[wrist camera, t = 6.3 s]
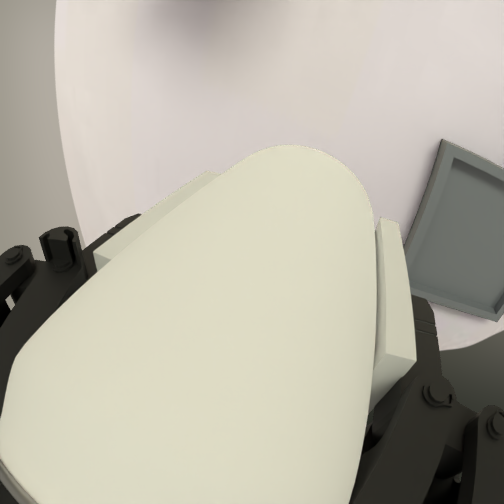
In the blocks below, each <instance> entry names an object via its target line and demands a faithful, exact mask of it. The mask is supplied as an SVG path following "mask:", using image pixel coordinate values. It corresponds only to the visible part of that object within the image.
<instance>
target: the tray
mask: <svg viewBox="0 0 504 504" xmlns="http://www.w3.org/2000/svg"><path fill="white" fill-rule="evenodd" d="M403 249H404V255H405V260H406V266H407V272H408V279H409V286H410V293H411V294H412V295H415V296H418V297H421V298H425V299H426V300H427V301H430V302H433V303H436V304H440V305H443V306H446V307H449V308H453V309H456V310H459V311H463V312H466V313H469V314H472V315H476V316H479V317H482V318H485V319H489V320H492V321H495V322H498V320H499V319H500V318H501V316H502V315H503V313H504V168H502V167H500V166H498V165H496V164H494V163H493V162H491V161H489V160H487V159H485V158H483V157H481V156H479V155H477V154H475V153H473V152H470V151H468V150H466V149H464V148H462V147H460V146H457V145H455V144H453V143H451V142H448V141H446V140H444V139H442V140H441V144H440V147H439V151H438V154H437V157H436V161H435V164H434V167H433V170H432V173H431V176H430V179H429V182H428V185H427V188H426V191H425V194H424V197H423V199H422V202H421V205H420V208H419V210H418V213H417V215H416V218H415V220H414V223H413V226H412V228H411V230H410V233H409V235H408V238H407V240H406V242H405V245H404V247H403Z"/></svg>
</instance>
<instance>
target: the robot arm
mask: <svg viewBox="0 0 504 504" xmlns="http://www.w3.org/2000/svg"><path fill="white" fill-rule="evenodd" d="M220 175H221V174H219V173H215V172H210V171H206V172H204V173H203V174H201V175H199V176H198V177H196V178H195V179H193V180H192V181H190V182H189V183H187V184H186V185H184V186H183V187H181V188H180V189H178V190H177V191H175V192H174V193H172V194H171V195H169V196H168V197H166V198H165V199H163V200H162V201H161V202H159V203H158V204H156V205H155V206H153V207H152V208H151V209H149V210H148V211H146V212H145V213H144V214H136V215H133V216H131V217H128V218H125V219H124V220H123V221H121V222H120V223H118V224H117V225H116V226H115V227H113V228H111V229H110V230H109V231H107V233H105V234H103V235H102V236H101V237H99V238H98V239H97V240H95V241H94V242H93V243H91V244H90V245H89V246H88V247H86V248H85V249H84V250H82V249H81V245H80V240H79V236H78V232H77V231H76V230H75V229H74V228H71V227H58V228H54V229H51V230H49V231H47V232H45V233H44V234H43V235H41V236H40V237H39V240H40V243H41V246H42V250H43V253H44V256H45V259H46V261H40V260H34V258H33V255H32V252H31V249H30V248H29V247H28V246H24V245H19V246H14V247H12V248H10V249H8V250H7V251H5V252H4V253H3V254H2V255H1V256H0V418H1V414H2V409H3V405H4V399H5V394H6V389H7V384H8V380H9V375H10V372H11V368H12V365H13V362H14V360H15V357H16V356H17V354H18V353H19V352H20V350H21V349H22V347H23V346H24V345H25V343H26V342H27V341H28V340H29V339H30V338H31V337H32V336H33V335H34V333H35V332H36V331H37V330H38V329H39V328H40V327H41V326H42V325H43V324H44V323H45V321H46V320H47V319H48V318H49V317H50V316H51V315H52V314H53V313H54V312H55V311H56V310H57V309H58V308H59V307H61V306H62V305H63V304H64V303H65V302H66V301H67V300H68V299H69V298H70V297H71V296H72V295H73V294H74V293H75V292H76V291H77V290H78V289H79V288H80V287H81V286H83V285H84V284H85V283H86V282H87V281H88V280H89V279H90V278H91V277H92V276H94V275H95V274H96V273H97V272H98V271H99V270H100V269H101V268H103V267H104V266H105V265H106V264H107V263H108V262H109V261H111V260H112V259H113V258H114V257H115V256H116V255H118V254H119V253H120V252H121V251H122V250H123V249H125V248H126V247H127V246H128V245H129V244H131V243H132V242H133V241H134V240H135V239H137V238H138V237H139V236H140V235H141V234H143V233H144V232H145V231H146V230H148V229H149V228H150V227H151V226H153V225H154V224H155V223H156V222H158V221H159V220H160V219H162V218H163V217H164V216H165V215H167V214H168V213H169V212H171V211H172V210H173V209H174V208H176V207H177V206H178V205H180V204H181V203H182V202H184V201H185V200H186V199H188V198H189V197H190V196H192V195H193V194H195V193H196V192H197V191H199V190H200V189H201V188H203V187H204V186H206V185H207V184H208V183H210V182H211V181H212V180H214V179H215V178H217V177H218V176H220ZM375 245H376V278H377V301H376V333H375V350H374V364H373V375H372V385H371V394H370V402H369V409H368V414H369V412H370V411H371V410H373V408H374V416H373V421H372V422H371V423H370V424H369V425H368V426H367V427H366V429H365V435H364V441H363V446H362V451H361V456H360V461H359V466H358V470H357V475H356V479H355V483H354V487H353V490H352V494H351V497H350V501H349V504H504V411H503V410H502V409H501V408H499V407H497V406H495V405H488V406H487V407H485V408H484V409H482V410H481V411H480V412H479V413H476V412H474V411H472V410H470V409H469V408H467V407H465V406H463V405H461V404H460V403H458V402H457V401H456V395H455V392H454V388H453V387H452V385H451V384H450V383H449V381H448V380H447V379H445V378H444V377H443V376H442V371H441V361H440V353H439V345H438V337H436V336H437V331H436V327H435V318H434V313H433V310H432V308H431V307H430V305H429V303H428V302H427V300H426V299H425V298H421V297H418V296H415V295H412V294H411V293H410V286H409V279H408V272H407V266H406V260H405V255H404V249H403V244H402V239H401V234H400V229H399V225H398V223H397V222H394V221H391V220H388V219H385V218H382V217H380V219H379V222H378V225H377V228H376V230H375ZM9 295H11V297H12V299H13V301H14V303H15V306H14V307H13V309H12V310H10V308H9V307H8V305H7V303H6V301H5V299H6V298H7V297H8V296H9ZM461 472H462V477H461V482H460V480H459V474H460V473H461ZM0 504H19V503H18V502H17V501H16V500H15V499H14V497H13V496H12V495H11V494H10V493H9V491H8V490H7V489H6V488H5V486H4V485H3V484H2V482H1V481H0Z"/></svg>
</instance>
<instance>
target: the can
mask: <svg viewBox="0 0 504 504" xmlns="http://www.w3.org/2000/svg"><path fill="white" fill-rule="evenodd" d="M376 301H377V278H376V245H375V229H374V219H373V212H372V208H371V204H370V201H369V198H368V196H367V193H366V191H365V189H364V188H363V186H362V184H361V183H360V181H359V180H358V179H357V177H356V176H355V175H354V174H353V173H352V172H351V171H350V170H349V169H348V168H347V167H346V166H345V165H344V164H343V163H341V162H340V161H338V160H337V159H336V158H334V157H332V156H330V155H329V154H326V153H324V152H322V151H320V150H317V149H314V148H310V147H306V146H299V145H280V146H273V147H269V148H266V149H263V150H260V151H258V152H256V153H254V154H252V155H250V156H248V157H247V158H245V159H243V160H242V161H240V162H239V163H237V164H236V165H234V166H233V167H231V168H230V169H228V170H227V171H225V172H224V173H223V174H221V175H220V176H218V177H217V178H215V179H214V180H212V181H211V182H210V183H208V184H207V185H206V186H204V187H203V188H201V189H200V190H199V191H197V192H196V193H195V194H193V195H192V196H190V197H189V198H188V199H186V200H185V201H184V202H182V203H181V204H180V205H178V206H177V207H176V208H174V209H173V210H172V211H171V212H169V213H168V214H167V215H165V216H164V217H163V218H162V219H160V220H159V221H158V222H156V223H155V224H154V225H153V226H151V227H150V228H149V229H148V230H146V231H145V232H144V233H143V234H141V235H140V236H139V237H138V238H137V239H135V240H134V241H133V242H132V243H131V244H129V245H128V246H127V247H126V248H125V249H123V250H122V251H121V252H120V253H119V254H118V255H116V256H115V257H114V258H113V259H112V260H111V261H109V262H108V263H107V264H106V265H105V266H104V267H103V268H101V269H100V270H99V271H98V272H97V273H96V274H95V275H94V276H92V277H91V278H90V279H89V280H88V281H87V282H86V283H85V284H84V285H83V286H81V287H80V288H79V289H78V290H77V291H76V292H75V293H74V294H73V295H72V296H71V297H70V298H69V299H68V300H67V301H66V302H65V303H64V304H63V305H62V306H61V307H59V308H58V309H57V310H56V311H55V312H54V313H53V314H52V315H51V316H50V317H49V318H48V319H47V320H46V321H45V323H44V324H43V325H42V326H41V327H40V328H39V329H38V330H37V331H36V332H35V333H34V335H33V336H32V337H31V338H30V339H29V340H28V341H27V342H26V343H25V345H24V346H23V347H22V349H21V350H20V352H19V353H18V354H17V356H16V357H15V360H14V362H13V365H12V368H11V372H10V375H9V380H8V384H7V389H6V394H5V399H4V405H3V409H2V414H1V418H0V481H1V482H2V484H3V485H4V486H5V488H6V489H7V490H8V491H9V493H10V494H11V495H12V496H13V497H14V499H15V500H16V501H17V502H18V503H19V504H349V501H350V497H351V494H352V490H353V487H354V483H355V479H356V475H357V470H358V466H359V461H360V456H361V451H362V446H363V441H364V435H365V429H366V423H367V416H368V409H369V402H370V394H371V385H372V375H373V364H374V350H375V333H376Z"/></svg>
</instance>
